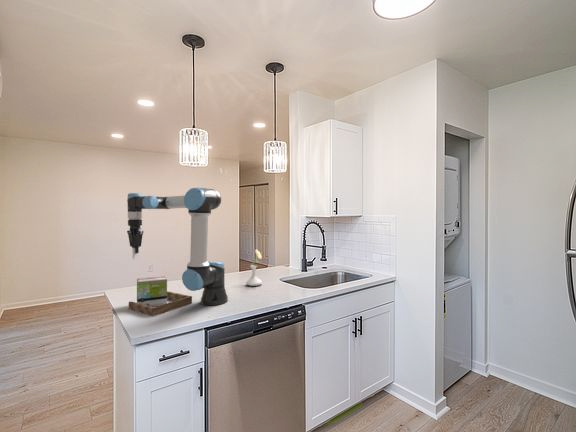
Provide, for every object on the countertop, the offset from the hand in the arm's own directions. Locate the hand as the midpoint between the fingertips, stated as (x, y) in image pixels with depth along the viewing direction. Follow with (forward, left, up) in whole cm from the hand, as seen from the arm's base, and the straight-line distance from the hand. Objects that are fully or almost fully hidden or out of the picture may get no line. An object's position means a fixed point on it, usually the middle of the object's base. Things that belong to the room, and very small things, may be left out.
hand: (135, 258), depth 179 cm
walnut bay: (-25, +1, -24) cm, 35 cm away
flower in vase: (-41, -63, -25) cm, 79 cm away
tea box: (-18, +2, -25) cm, 30 cm away
